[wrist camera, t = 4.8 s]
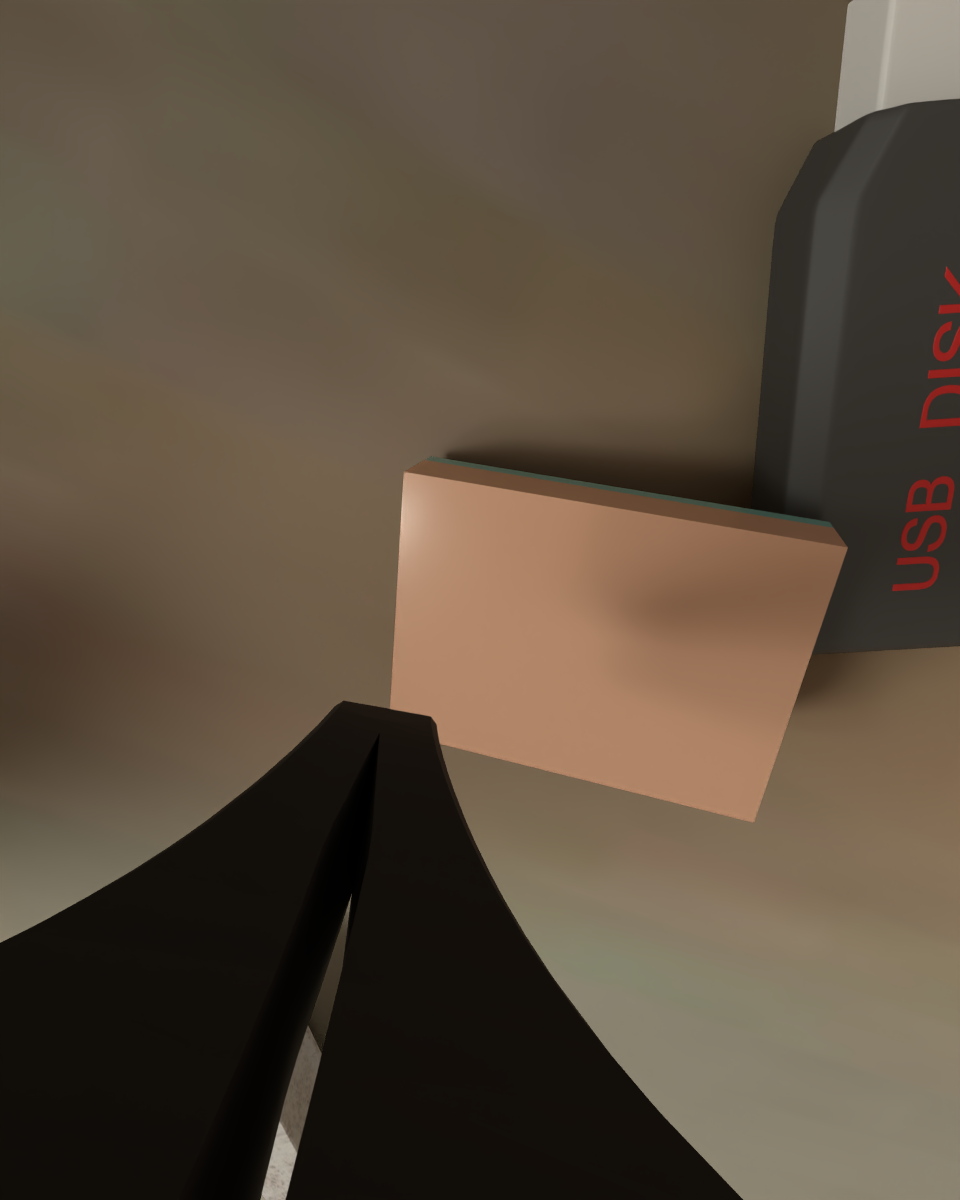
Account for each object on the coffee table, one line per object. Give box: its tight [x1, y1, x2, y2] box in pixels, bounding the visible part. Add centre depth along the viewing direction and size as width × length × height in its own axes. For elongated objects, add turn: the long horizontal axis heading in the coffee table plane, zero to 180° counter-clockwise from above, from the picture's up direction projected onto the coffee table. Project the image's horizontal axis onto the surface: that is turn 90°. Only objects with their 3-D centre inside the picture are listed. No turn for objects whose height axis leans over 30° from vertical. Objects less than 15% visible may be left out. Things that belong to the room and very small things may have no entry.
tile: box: [390, 456, 848, 823], centre depth 14 cm, size 2×6×8 cm
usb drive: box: [751, 0, 960, 655], centre depth 13 cm, size 5×12×3 cm, turn 4°
